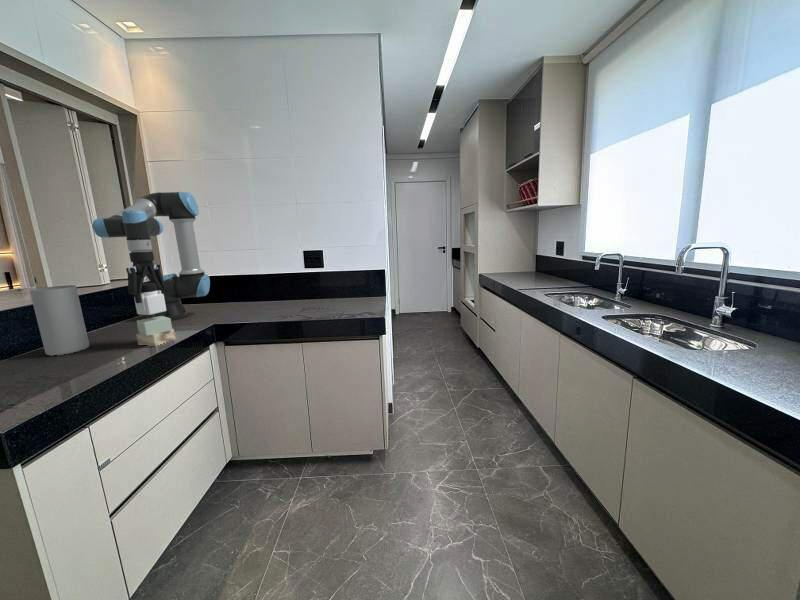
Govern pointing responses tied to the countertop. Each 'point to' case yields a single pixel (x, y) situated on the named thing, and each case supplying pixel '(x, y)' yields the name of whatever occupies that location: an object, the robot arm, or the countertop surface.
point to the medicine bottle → (152, 300)
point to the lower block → (156, 338)
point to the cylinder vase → (60, 319)
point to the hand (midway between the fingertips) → (151, 308)
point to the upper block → (154, 325)
